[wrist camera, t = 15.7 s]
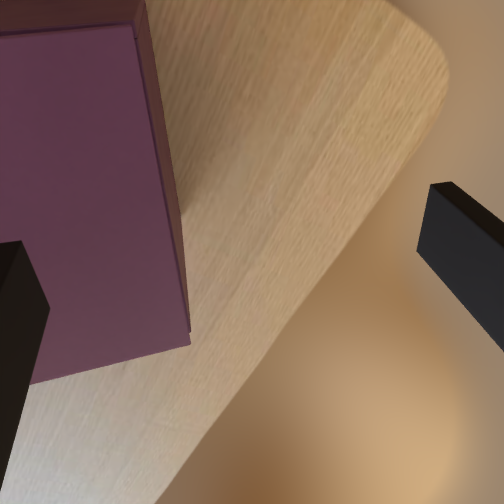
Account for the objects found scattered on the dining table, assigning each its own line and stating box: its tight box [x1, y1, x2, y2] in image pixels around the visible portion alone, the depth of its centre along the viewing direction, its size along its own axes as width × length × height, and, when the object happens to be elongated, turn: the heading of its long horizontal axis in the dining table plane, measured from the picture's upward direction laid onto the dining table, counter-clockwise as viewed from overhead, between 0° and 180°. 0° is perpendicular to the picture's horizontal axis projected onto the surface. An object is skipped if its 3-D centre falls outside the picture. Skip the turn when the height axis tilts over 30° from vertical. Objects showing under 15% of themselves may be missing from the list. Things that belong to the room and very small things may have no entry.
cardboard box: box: [0, 0, 191, 333], centre depth 20 cm, size 14×13×11 cm
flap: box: [0, 24, 191, 385], centre depth 15 cm, size 7×13×1 cm, turn 2°
